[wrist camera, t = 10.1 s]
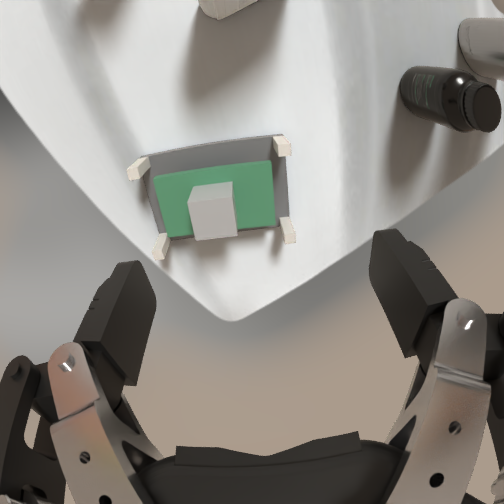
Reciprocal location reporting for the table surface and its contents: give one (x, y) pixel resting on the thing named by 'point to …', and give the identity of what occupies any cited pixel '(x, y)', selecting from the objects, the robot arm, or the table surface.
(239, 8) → the white rounded block
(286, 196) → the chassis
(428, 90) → the supplement bottle
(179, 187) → the module board
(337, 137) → the table surface
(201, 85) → the table surface
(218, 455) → the robot arm
